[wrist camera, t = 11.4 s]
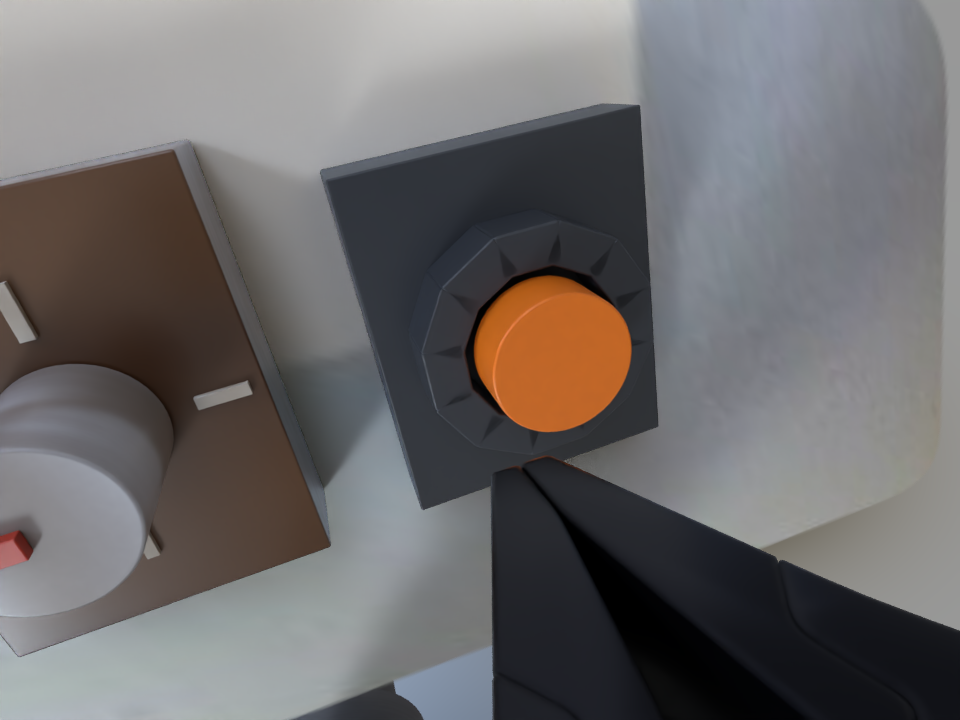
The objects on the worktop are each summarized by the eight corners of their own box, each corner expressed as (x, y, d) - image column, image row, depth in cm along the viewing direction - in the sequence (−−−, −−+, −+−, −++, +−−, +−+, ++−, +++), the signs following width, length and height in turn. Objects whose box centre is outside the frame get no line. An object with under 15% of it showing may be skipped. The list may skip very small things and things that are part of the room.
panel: (324, 491, 21) (332, 550, 19) (51, 583, 20) (15, 663, 17) (189, 138, 16) (172, 148, 13) (-203, 223, 14) (-317, 255, 12)
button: (607, 381, 19) (637, 407, 17) (486, 421, 18) (506, 452, 16) (595, 258, 17) (627, 274, 15) (460, 297, 16) (479, 318, 15)
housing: (628, 400, 24) (688, 453, 20) (409, 474, 22) (434, 546, 19) (603, 103, 19) (678, 105, 15) (319, 170, 17) (330, 190, 14)
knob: (133, 341, 15) (85, 428, 11) (198, 472, 16) (176, 585, 13) (-49, 392, 14) (-167, 504, 10) (41, 523, 16) (-32, 658, 12)
